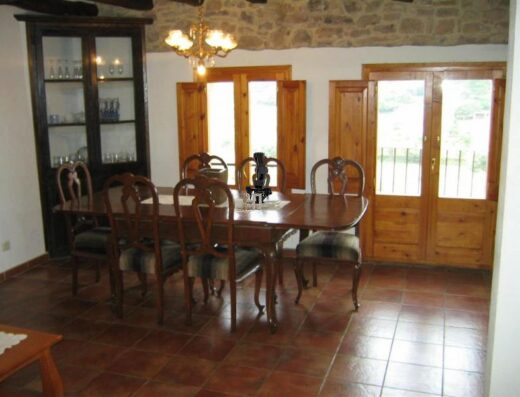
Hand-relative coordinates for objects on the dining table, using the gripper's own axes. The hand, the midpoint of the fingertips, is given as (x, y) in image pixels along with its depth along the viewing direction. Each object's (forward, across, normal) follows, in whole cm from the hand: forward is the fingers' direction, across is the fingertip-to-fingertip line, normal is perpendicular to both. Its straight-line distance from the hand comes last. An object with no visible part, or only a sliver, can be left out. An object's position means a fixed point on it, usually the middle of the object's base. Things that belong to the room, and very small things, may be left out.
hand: (256, 200), depth 394 cm
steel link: (+5, 0, +6) cm, 8 cm away
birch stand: (+10, -7, +1) cm, 12 cm away
